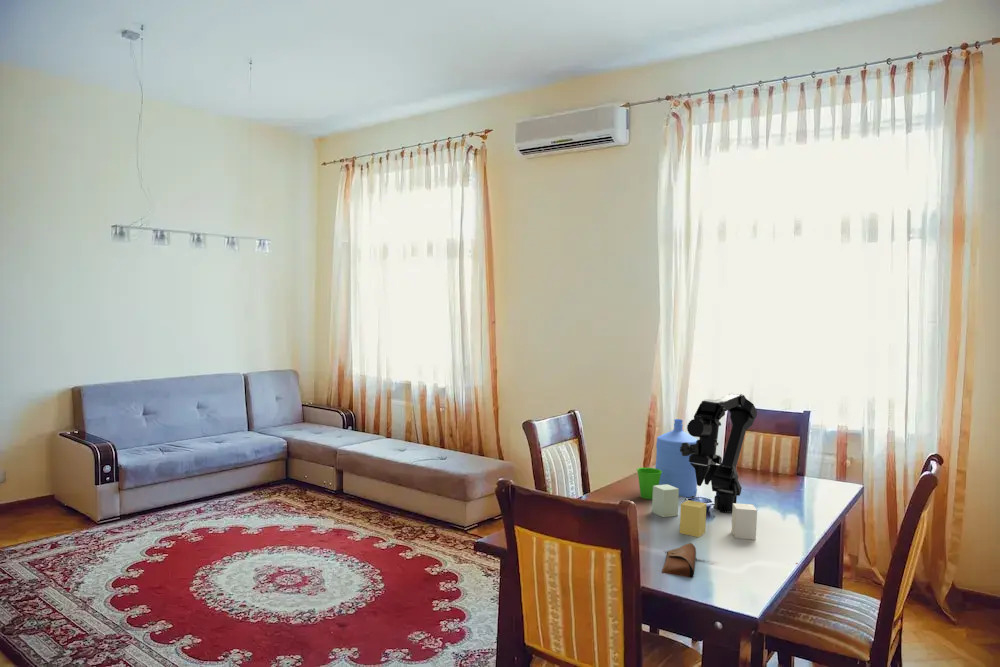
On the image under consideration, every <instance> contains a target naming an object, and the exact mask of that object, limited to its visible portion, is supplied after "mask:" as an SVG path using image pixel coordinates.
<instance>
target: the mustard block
mask: <svg viewBox="0 0 1000 667" xmlns="http://www.w3.org/2000/svg"><path fill="white" fill-rule="evenodd" d="M706 519H707V503H706V502H701V501H695V500H689V499H687V500H685V501H683V502H682V503H680V518H679V534H682V535H687V536H692V537H696V538H700V537H701V536H702V535H704V534H705V533H706V523H707V520H706Z"/></svg>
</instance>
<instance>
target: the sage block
mask: <svg viewBox="0 0 1000 667" xmlns="http://www.w3.org/2000/svg"><path fill="white" fill-rule="evenodd" d="M679 496H680V495H679V489H678V488H676V487H673V486H671V485H668V484H666V485H655V486H653V499H651V500H652V502H651V503H652V506H651V513H653V514H654V515H657V516H660V517H661V518H666V517H667V518H668V517H676V516H679V514H678V513H679Z"/></svg>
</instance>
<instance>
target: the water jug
mask: <svg viewBox="0 0 1000 667" xmlns="http://www.w3.org/2000/svg"><path fill="white" fill-rule="evenodd" d="M673 422H674V423H673V429H672V430H670V431H668V432H666V433H663V434H660V435H658V436H657V437H656V445H655V446H656V447H655V448H656V454H655V455H656V457H655V466H654V468H655V469H659V470H661V471H662V473H661V476H660V481H659V485H666V484H668V485H671V486H673V487H676V488H678V489H679V496H681V497H683V498H685V497H689V498H692V497H691V496H693V497H695V496H696V495H697V493H698V488H697V486H698V485H697V480H696V473H695V469H694V467H693V466H692V465H691V464H690V463H692V462H689V456H690V455H689V456H682V453H681V452H680V447H681V446H682V443H688V444H689V445H693V444H696V441H697V440H699V439H697V437H694V436H691V435H690V434H689V433H687V432H685V431H684V430H683V426H684V425H683V422H684V420H683V419H679V418H677V419H675V418H674V421H673ZM691 455H692V454H691Z"/></svg>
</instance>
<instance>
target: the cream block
mask: <svg viewBox="0 0 1000 667" xmlns="http://www.w3.org/2000/svg"><path fill="white" fill-rule="evenodd" d="M757 517H758V509H757V508H756V507H755V505H754V504H750V503H749V504H748V503H739V502H738V503H737V502H736V503H733V509H732V512H731V534H732V536H733V537H734V539H739V540H740V539H741V540H752V541H753V540H755V541H756V539H757V523H758V520H757V519H758V518H757Z"/></svg>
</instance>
